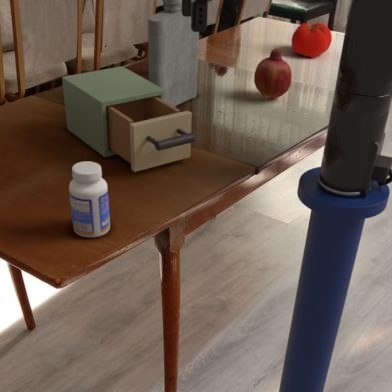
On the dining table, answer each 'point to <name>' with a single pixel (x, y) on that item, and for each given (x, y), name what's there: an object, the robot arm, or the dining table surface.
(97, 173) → the pill bottle
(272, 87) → the fruit
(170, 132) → the drawer
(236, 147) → the dining table surface
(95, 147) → the cabinet
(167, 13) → the hip flask
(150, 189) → the dining table surface
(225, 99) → the dining table surface
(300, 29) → the tomato
